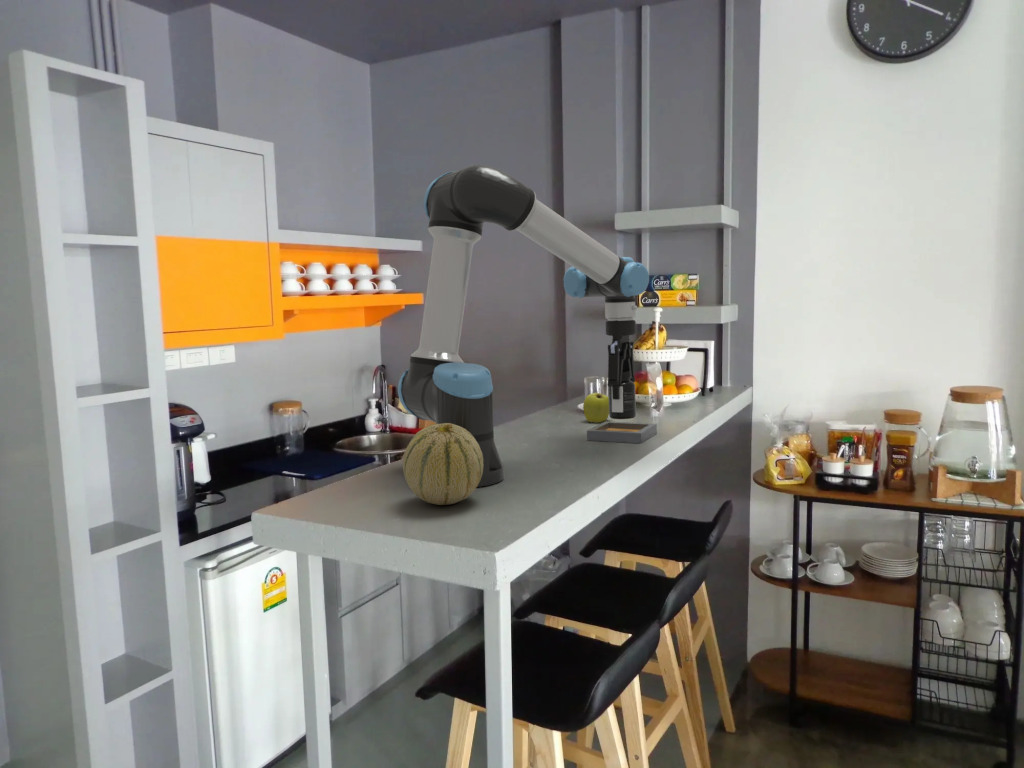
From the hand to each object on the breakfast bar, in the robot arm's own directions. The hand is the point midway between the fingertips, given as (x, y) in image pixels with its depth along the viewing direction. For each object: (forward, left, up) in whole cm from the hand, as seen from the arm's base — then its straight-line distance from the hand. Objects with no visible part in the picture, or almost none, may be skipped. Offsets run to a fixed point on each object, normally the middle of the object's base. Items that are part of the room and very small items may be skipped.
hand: (622, 409), depth 194 cm
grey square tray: (0, 0, -7) cm, 7 cm away
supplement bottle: (0, 0, -2) cm, 2 cm away
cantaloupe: (-53, -46, -7) cm, 71 cm away
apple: (+2, +24, -7) cm, 25 cm away
